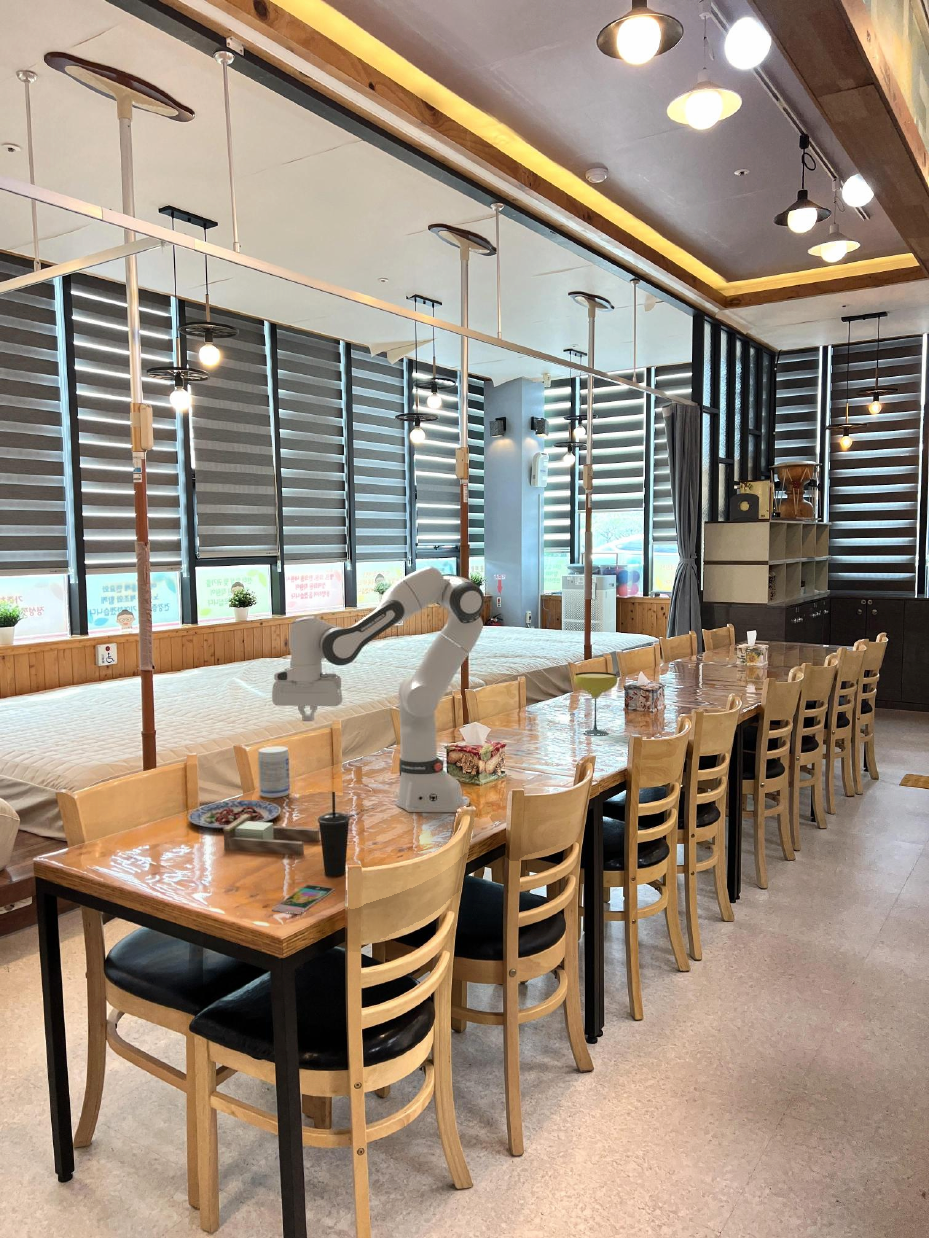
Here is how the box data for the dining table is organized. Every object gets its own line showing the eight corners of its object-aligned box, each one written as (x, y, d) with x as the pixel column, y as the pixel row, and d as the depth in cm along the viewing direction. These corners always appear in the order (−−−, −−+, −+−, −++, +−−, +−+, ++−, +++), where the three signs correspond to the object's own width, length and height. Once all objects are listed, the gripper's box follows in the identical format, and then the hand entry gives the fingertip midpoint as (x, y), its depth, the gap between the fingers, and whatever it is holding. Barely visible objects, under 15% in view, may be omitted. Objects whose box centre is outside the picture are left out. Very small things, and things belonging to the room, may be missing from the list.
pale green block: (274, 840, 232) (273, 822, 231) (262, 849, 225) (262, 830, 225) (246, 838, 233) (246, 820, 233) (234, 846, 227) (234, 828, 227)
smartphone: (334, 888, 198) (299, 913, 184) (335, 891, 198) (299, 917, 184) (307, 884, 200) (271, 908, 186) (307, 887, 200) (271, 912, 186)
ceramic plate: (282, 805, 265) (282, 795, 264) (278, 831, 239) (278, 821, 239) (196, 809, 261) (195, 799, 260) (181, 836, 235) (181, 825, 235)
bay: (319, 839, 232) (319, 819, 231) (301, 855, 220) (300, 833, 219) (245, 834, 236) (245, 814, 236) (224, 849, 224) (223, 828, 224)
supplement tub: (294, 795, 274) (293, 750, 273) (265, 800, 269) (264, 754, 267) (282, 788, 282) (281, 744, 281) (254, 793, 277) (253, 748, 276)
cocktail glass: (593, 727, 378) (594, 670, 376) (625, 733, 364) (626, 675, 362) (564, 732, 367) (565, 674, 365) (597, 739, 353) (597, 679, 351)
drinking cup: (320, 868, 211) (318, 788, 209) (351, 867, 211) (350, 787, 210) (317, 880, 203) (315, 797, 201) (350, 879, 204) (348, 796, 202)
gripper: (344, 671, 247) (346, 719, 248) (278, 671, 251) (280, 718, 252) (336, 675, 241) (338, 723, 242) (268, 674, 245) (270, 722, 246)
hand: (308, 721), depth 247 cm, fingers closed
